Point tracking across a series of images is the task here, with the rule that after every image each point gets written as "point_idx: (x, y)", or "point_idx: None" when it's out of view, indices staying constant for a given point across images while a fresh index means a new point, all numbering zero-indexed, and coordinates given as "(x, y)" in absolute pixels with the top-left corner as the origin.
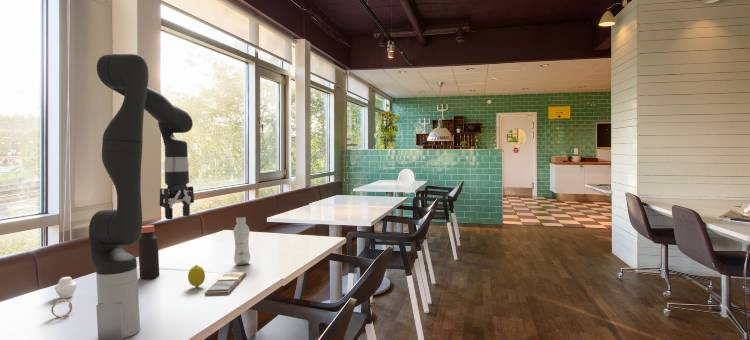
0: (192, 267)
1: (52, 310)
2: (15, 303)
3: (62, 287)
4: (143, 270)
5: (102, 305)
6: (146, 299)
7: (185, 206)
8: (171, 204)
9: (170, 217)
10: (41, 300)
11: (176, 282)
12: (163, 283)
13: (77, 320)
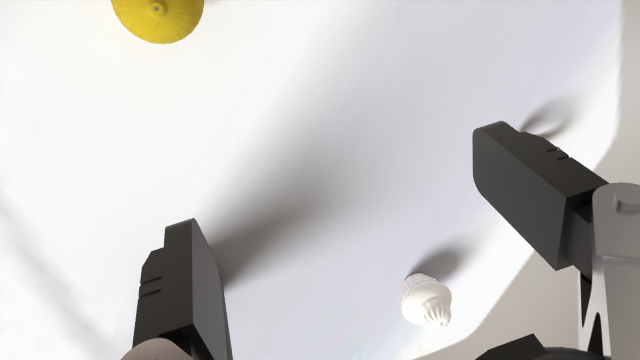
0: (174, 22)
1: (560, 149)
2: (473, 316)
3: (447, 291)
4: (222, 296)
5: None
6: (359, 54)
7: (211, 342)
8: (637, 222)
9: (506, 134)
10: None
11: (170, 143)
12: (208, 176)
13: (543, 70)
